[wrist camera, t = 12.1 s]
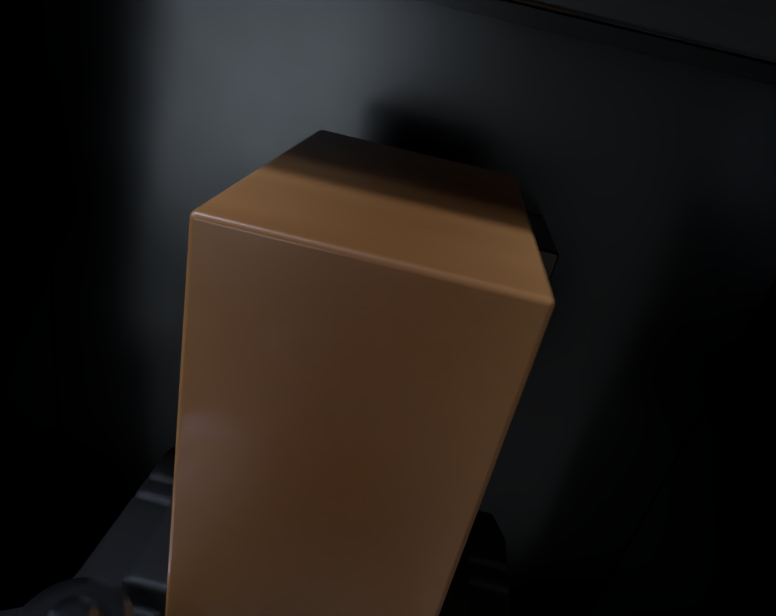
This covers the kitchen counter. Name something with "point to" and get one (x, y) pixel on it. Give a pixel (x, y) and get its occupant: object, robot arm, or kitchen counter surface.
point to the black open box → (447, 141)
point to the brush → (348, 378)
